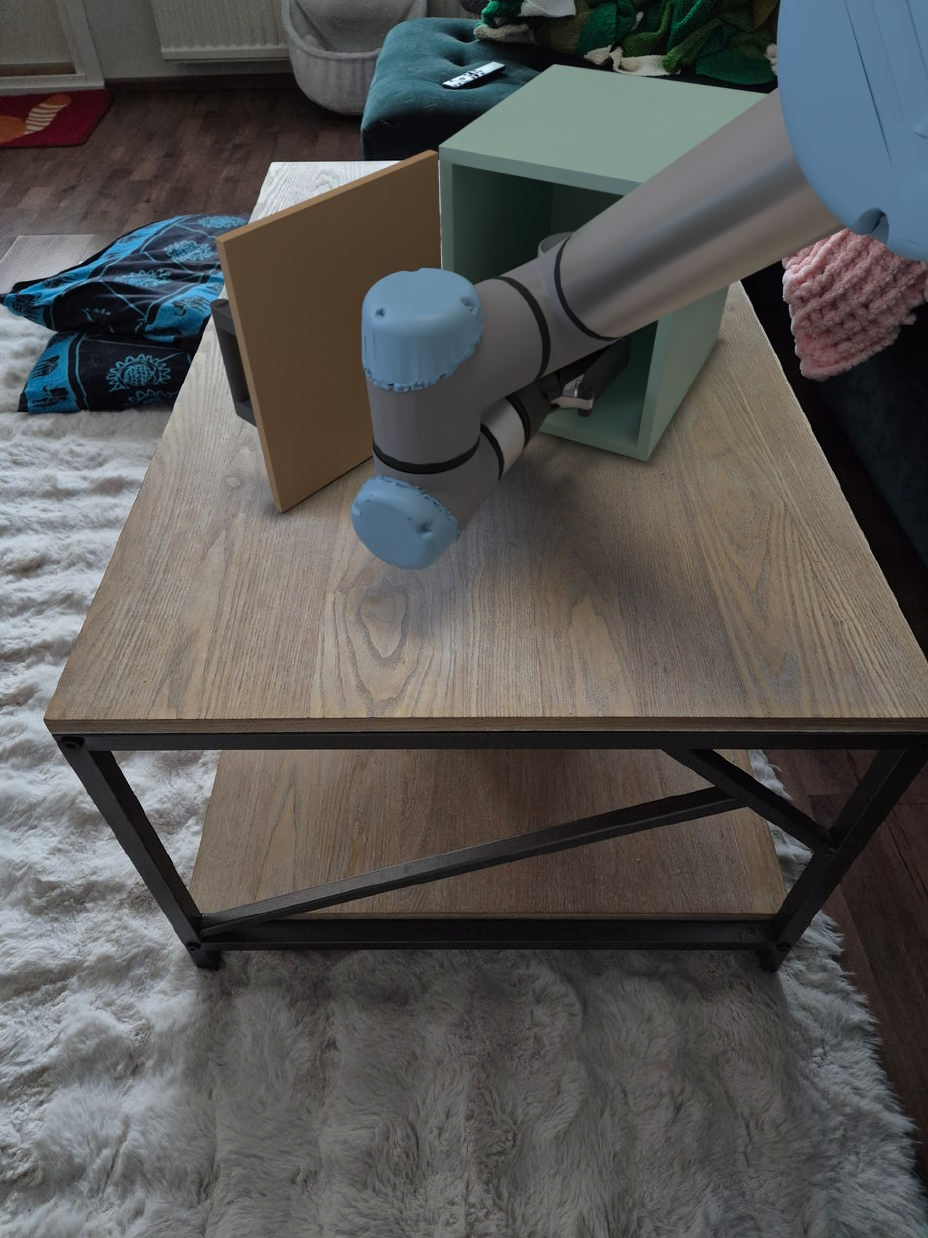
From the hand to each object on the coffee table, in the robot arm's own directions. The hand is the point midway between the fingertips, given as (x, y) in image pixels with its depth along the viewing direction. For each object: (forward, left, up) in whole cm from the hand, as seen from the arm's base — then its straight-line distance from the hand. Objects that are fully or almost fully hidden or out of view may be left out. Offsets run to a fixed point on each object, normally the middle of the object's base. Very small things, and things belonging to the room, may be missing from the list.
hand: (589, 298), depth 83 cm
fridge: (+2, -1, -9) cm, 9 cm away
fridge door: (-10, +24, -9) cm, 27 cm away
